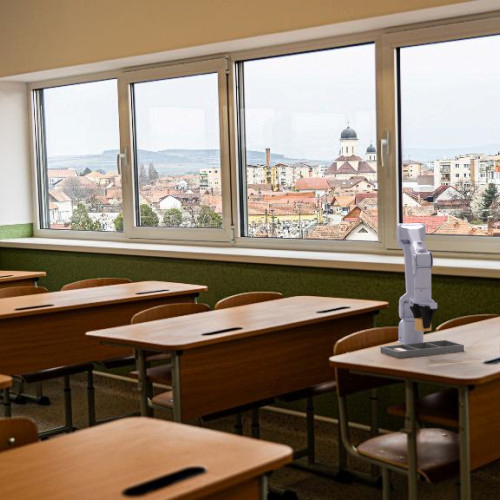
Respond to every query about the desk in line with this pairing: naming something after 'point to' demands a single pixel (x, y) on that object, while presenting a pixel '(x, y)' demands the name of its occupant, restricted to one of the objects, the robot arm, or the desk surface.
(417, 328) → the letter cube
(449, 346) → the organizer
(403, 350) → the eraser
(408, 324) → the robot arm
